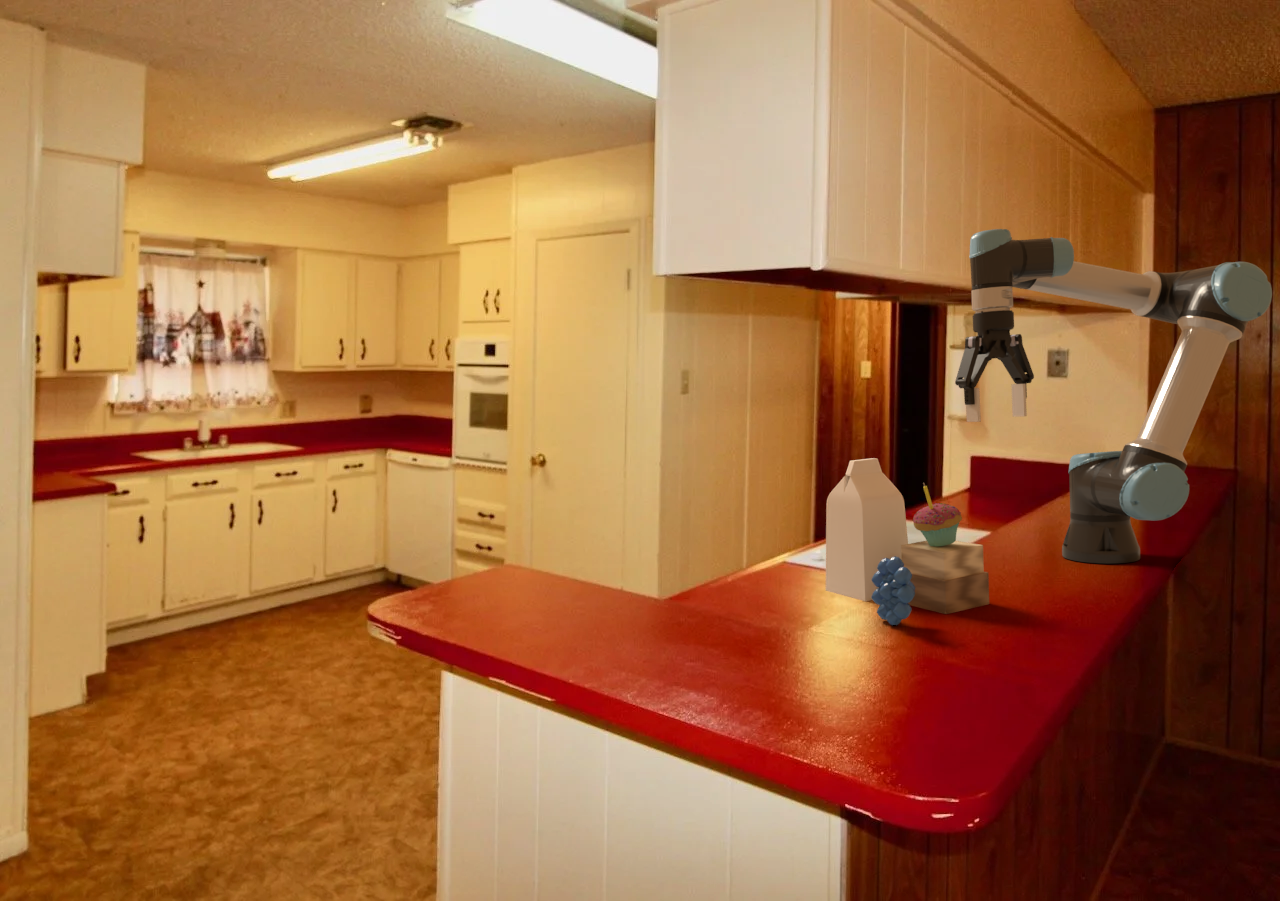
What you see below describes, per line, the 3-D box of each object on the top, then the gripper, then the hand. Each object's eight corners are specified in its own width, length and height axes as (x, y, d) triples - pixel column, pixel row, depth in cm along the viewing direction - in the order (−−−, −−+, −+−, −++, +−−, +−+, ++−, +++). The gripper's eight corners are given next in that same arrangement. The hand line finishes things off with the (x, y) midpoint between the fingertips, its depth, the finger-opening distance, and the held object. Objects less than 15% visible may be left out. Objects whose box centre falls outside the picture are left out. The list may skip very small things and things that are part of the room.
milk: (865, 601, 167) (860, 463, 165) (825, 590, 177) (820, 460, 175) (912, 591, 172) (908, 458, 170) (871, 581, 182) (867, 455, 180)
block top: (940, 564, 169) (939, 538, 168) (983, 572, 160) (983, 545, 159) (902, 571, 164) (901, 545, 163) (944, 580, 155) (943, 552, 155)
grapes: (935, 631, 145) (933, 558, 144) (898, 635, 143) (896, 562, 142) (898, 614, 156) (896, 547, 155) (863, 618, 155) (861, 550, 154)
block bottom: (941, 594, 170) (940, 563, 169) (989, 605, 160) (988, 572, 160) (899, 603, 164) (898, 571, 164) (946, 615, 155) (945, 581, 154)
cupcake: (956, 549, 155) (942, 484, 154) (910, 551, 161) (896, 488, 159) (972, 533, 162) (959, 470, 160) (927, 535, 167) (914, 474, 166)
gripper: (964, 309, 164) (969, 424, 166) (1050, 307, 177) (1054, 414, 178) (933, 314, 171) (937, 423, 172) (1017, 311, 183) (1021, 414, 185)
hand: (997, 419), depth 175 cm, fingers open, 13 cm apart
